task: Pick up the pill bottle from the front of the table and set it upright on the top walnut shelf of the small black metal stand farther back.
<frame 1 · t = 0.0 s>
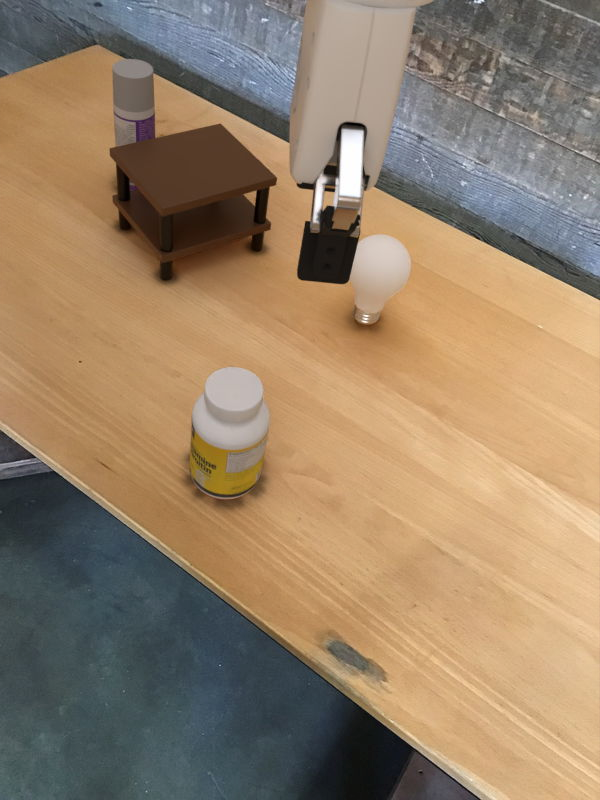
hand: (320, 231, 50), 26 cm above the table, tool pointing down, fingers open, 9 cm apart
stand: (191, 237, 90), on the table
pill bottle: (225, 473, 69), on the table
light bulb: (363, 322, 84), on the table
container: (136, 186, 95), on the table
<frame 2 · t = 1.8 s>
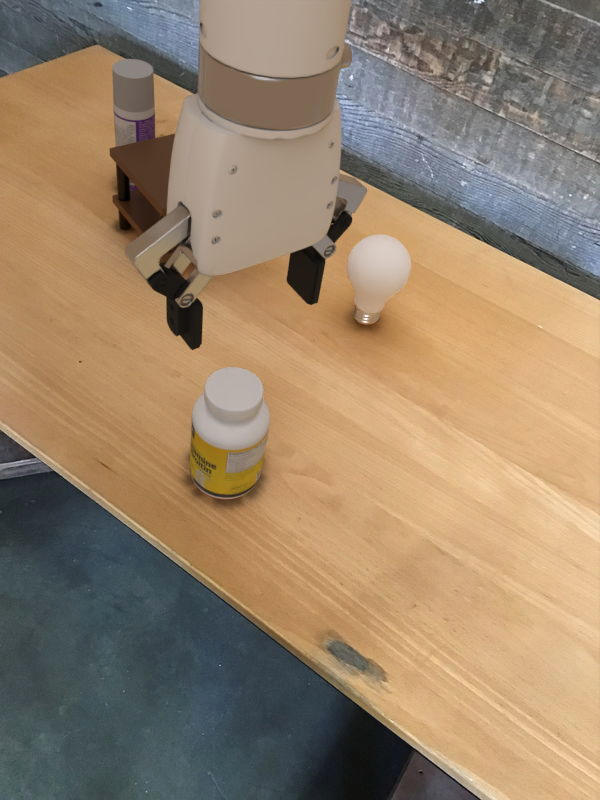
hand: (245, 313, 54), 20 cm above the table, tool pointing down, fingers open, 9 cm apart
nothing on the table moved.
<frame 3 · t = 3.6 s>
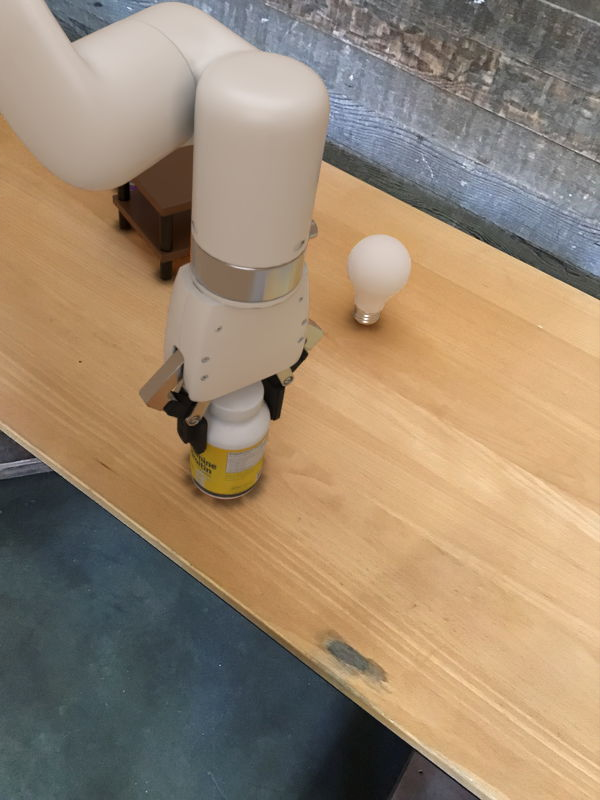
hand: (230, 423, 63), 7 cm above the table, tool pointing down, fingers closed on pill bottle, 6 cm apart
pill bottle: (225, 473, 69), on the table, touching gripper
everything else where it was.
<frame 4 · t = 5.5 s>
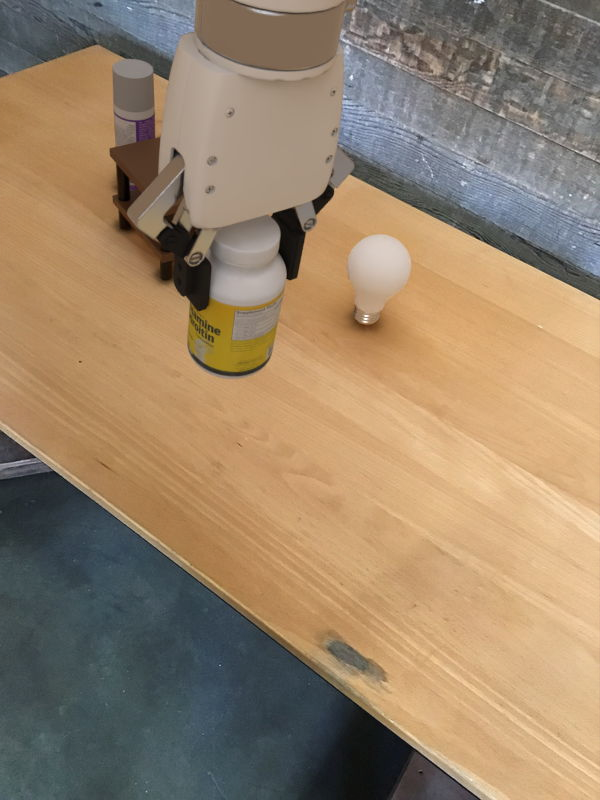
hand: (237, 280, 52), 22 cm above the table, tool pointing down, fingers closed on pill bottle, 6 cm apart
pill bottle: (229, 353, 58), point 15 cm above the table, touching gripper
everything else where it was.
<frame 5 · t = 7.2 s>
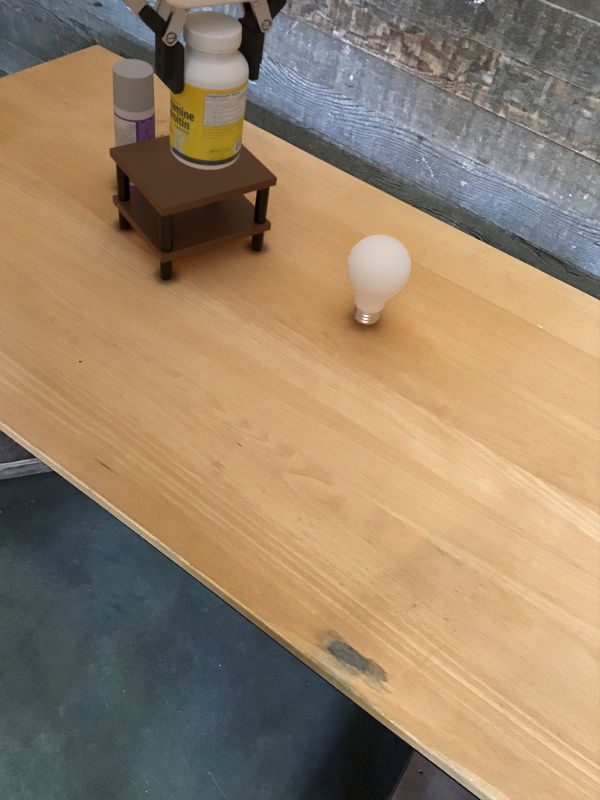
hand: (209, 77, 64), 25 cm above the table, tool pointing down, fingers closed on pill bottle, 6 cm apart
pill bottle: (204, 155, 69), point 18 cm above the table, touching gripper
everything else where it was.
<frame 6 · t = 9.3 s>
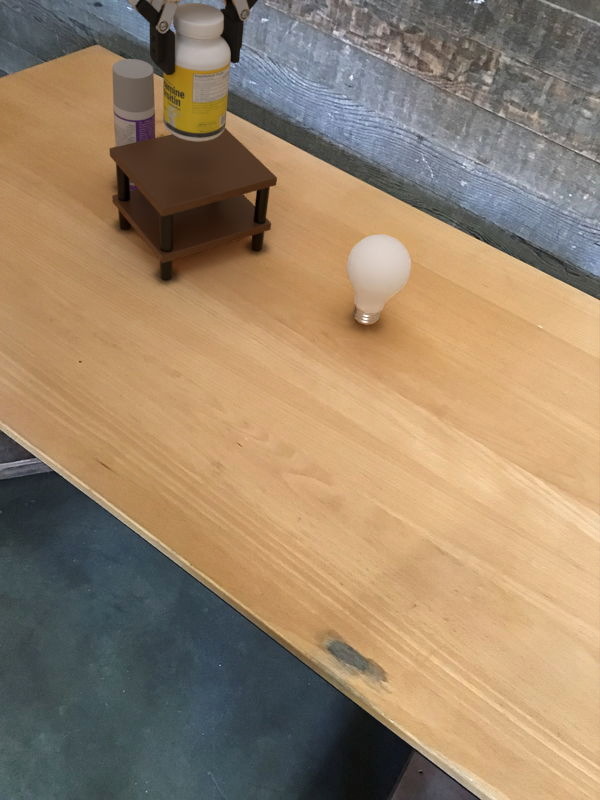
hand: (196, 61, 74), 21 cm above the table, tool pointing down, fingers closed on pill bottle, 6 cm apart
pill bottle: (194, 129, 79), point 14 cm above the table, touching gripper
everything else where it was.
when the fingers open (17 cm above the table, at t = 11.0 s): pill bottle stays where it is, resting on stand.
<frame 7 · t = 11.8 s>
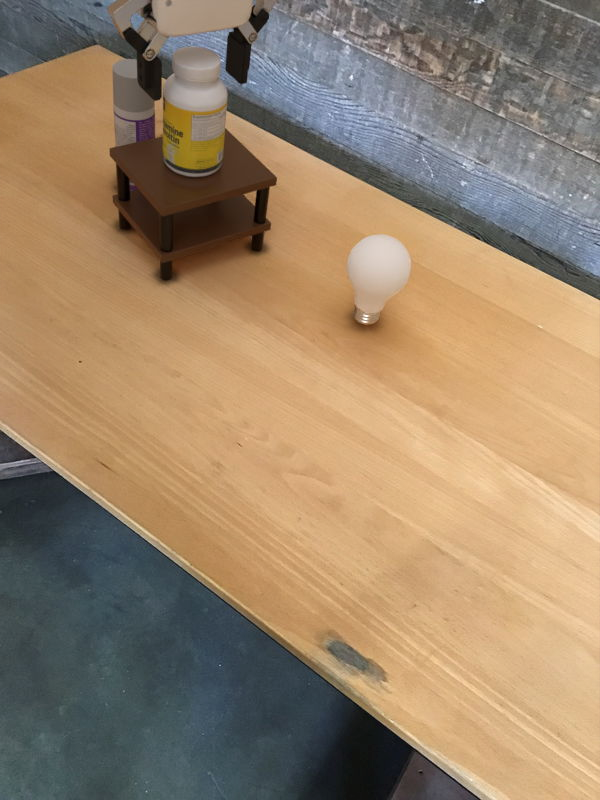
hand: (194, 85, 76), 19 cm above the table, tool pointing down, fingers open, 9 cm apart
pill bottle: (192, 164, 82), point 10 cm above the table, touching stand
everything else where it was.
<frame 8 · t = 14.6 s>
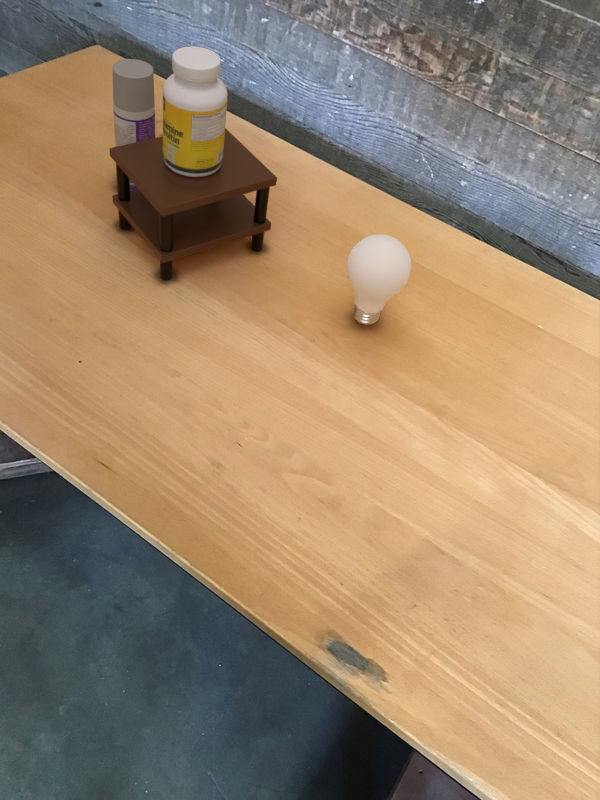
nothing on the table moved.
at the end: pill bottle inside the target area on the stand (0.1 cm from its centre), point 9.8 cm above the stand's base; pill bottle tilted 0°; the gripper is holding nothing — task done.
